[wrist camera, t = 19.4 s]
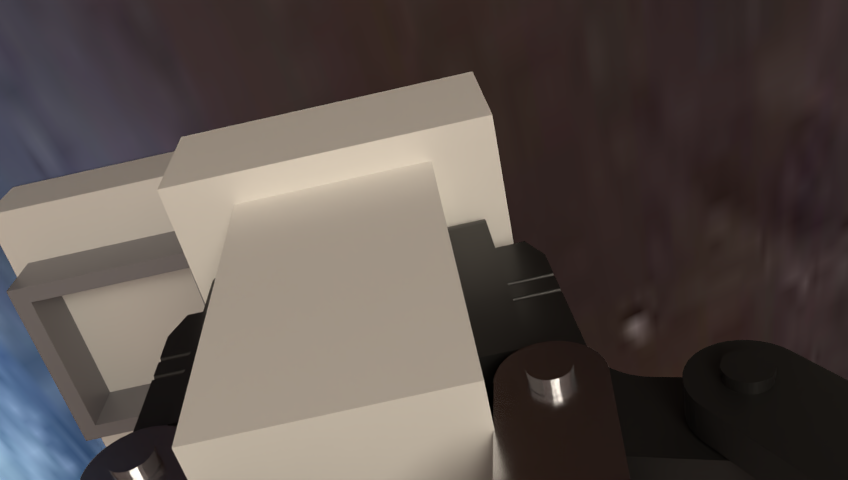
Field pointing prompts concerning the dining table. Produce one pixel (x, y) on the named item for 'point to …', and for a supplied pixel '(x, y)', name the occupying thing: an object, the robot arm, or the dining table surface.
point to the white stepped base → (98, 285)
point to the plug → (338, 289)
